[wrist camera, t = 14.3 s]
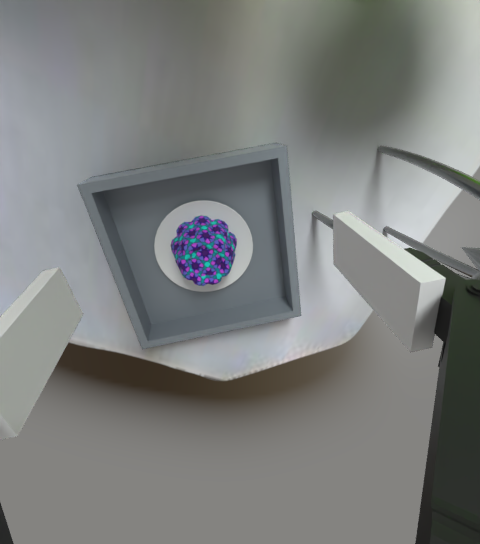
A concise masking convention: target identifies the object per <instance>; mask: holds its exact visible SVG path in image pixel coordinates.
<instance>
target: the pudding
mask: <svg viewBox="0 0 480 544" xmlns="http://www.w3.org/2000/svg"><path fill="white" fill-rule="evenodd" d="M154 249H155V256H156V259H157V262H158V264H159V266H160V268H161V270H162V271H163V272H164V274H165V275H166V276H167V277H168V278H169V279H170V280H171V281H173V282H174V283H176V284H177V285H179V286H181V287H183V288H185V289H189V290H192V291H199V292H210V291H215V290H219V289H222V288H225V287H227V286H228V285H230V284H232V283H233V282H235V281H236V280H237V279H238V278H239V277H240V276H241V275H242V274H243V273H244V272H245V270H246V269H247V267H248V265H249V263H250V260H251V257H252V253H253V241H252V235H251V232H250V229H249V227H248V225H247V224H246V222H245V221H244V219H243V218H242V217H241V216H240V215H239V214H238V213H237V212H236V211H234V210H233V209H231V208H230V207H228V206H226V205H224V204H221V203H218V202H214V201H193V202H189V203H186V204H183V205H181V206H179V207H177V208H176V209H174V210H173V211H172V212H170V213H169V214H168V215H167V216H166V217H165V218H164V220H163V221H162V222H161V224H160V226H159V228H158V230H157V233H156V236H155V243H154Z"/></svg>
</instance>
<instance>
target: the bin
mask: <svg viewBox="0 0 480 544" xmlns="http://www.w3.org/2000/svg"><path fill="white" fill-rule="evenodd" d="M77 186H78V188H79V191H80V193H81V196H82V198H83V201H84V203H85V206H86V208H87V211H88V213H89V216H90V219H91V221H92V224H93V226H94V229H95V231H96V234H97V236H98V239H99V241H100V244H101V246H102V249H103V251H104V254H105V256H106V259H107V261H108V264H109V267H110V269H111V272H112V274H113V277H114V279H115V282H116V284H117V287H118V289H119V292H120V294H121V297H122V299H123V302H124V304H125V307H126V309H127V312H128V314H129V317H130V320H131V322H132V325H133V327H134V330H135V332H136V335H137V337H138V340H139V342H140V345H141V347H142V349H146V348H150V347H155V346H160V345H165V344H170V343H174V342H179V341H184V340H189V339H193V338H198V337H203V336H208V335H213V334H217V333H222V332H227V331H232V330H236V329H241V328H246V327H251V326H256V325H260V324H265V323H270V322H275V321H279V320H284V319H289V318H294V317H299V316H301V307H300V296H299V284H298V272H297V260H296V248H295V236H294V225H293V213H292V201H291V189H290V177H289V165H288V153H287V146H286V145H282V144H279V143H272V144H267V145H262V146H256V147H251V148H246V149H240V150H235V151H229V152H224V153H219V154H213V155H208V156H202V157H197V158H192V159H186V160H181V161H176V162H170V163H165V164H159V165H154V166H149V167H143V168H138V169H133V170H127V171H122V172H116V173H111V174H106V175H100V176H95V177H91V178H89V179H87V180H85V181H83V182H82V183H80V184H78V185H77ZM193 201H214V202H218V203H221V204H224V205H226V206H228V207H230V208H231V209H233V210H234V211H236V212H237V213H238V214H239V215H240V216H241V217H242V218H243V219H244V221H245V222H246V224H247V225H248V227H249V229H250V232H251V235H252V241H253V253H252V257H251V260H250V263H249V265H248V267H247V269H246V270H245V272H244V273H243V274H242V275H241V276H240V277H239V278H238V279H237V280H236V281H235V282H233V283H232V284H230V285H228V286H227V287H225V288H222V289H219V290H215V291H210V292H199V291H192V290H189V289H185V288H183V287H181V286H179V285H177V284H176V283H174V282H173V281H171V280H170V279H169V278H168V277H167V276H166V275H165V274H164V272H163V271H162V270H161V268H160V266H159V264H158V262H157V259H156V256H155V249H154V243H155V236H156V233H157V230H158V228H159V226H160V224H161V222H162V221H163V220H164V218H165V217H166V216H167V215H168V214H169V213H170V212H172V211H173V210H174V209H176V208H177V207H179V206H181V205H183V204H186V203H189V202H193Z"/></svg>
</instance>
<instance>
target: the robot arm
mask: <svg viewBox="0 0 480 544" xmlns="http://www.w3.org/2000/svg"><path fill="white" fill-rule="evenodd" d="M333 258H334V265H335V266H336V268H337V269H338V270H339V271H340V272H341V273H342V274H343V276H344V277H345V278H346V279H347V280H348V281H349V282H350V284H351V285H352V286H353V287H354V288H355V289H356V291H357V292H358V293H359V294H360V295H361V296H362V297H363V299H364V300H365V301H366V302H367V303H368V304H369V306H370V307H371V308H372V309H373V310H374V311H375V312H376V313H377V315H378V316H379V317H380V318H381V319H382V320H383V322H384V323H385V324H386V325H387V326H388V327H389V329H390V330H391V331H392V332H393V333H394V334H395V335H396V337H397V338H398V339H399V340H400V341H401V342H402V344H403V345H404V346H405V347H406V348H407V349H408V350H409V352H415V351H420V350H424V349H429V348H432V346H433V340H434V336H435V334H436V335H437V336H438V337H439V338H440V339H441V340H442V341H443V346H442V351H441V356H440V360H439V365H438V366H439V375H438V381H437V390H436V396H435V403H434V411H433V418H432V426H431V433H430V440H429V448H428V455H427V462H426V469H425V477H424V485H423V492H422V499H421V506H420V514H419V521H418V528H417V536H416V543H415V544H480V280H478V279H470V280H465V279H464V278H462V277H461V276H459V275H458V274H456V273H454V272H453V271H451V270H450V269H448V268H447V267H445V266H444V265H441V264H440V263H439V262H437V261H436V260H433V258H431V257H430V256H428V255H427V254H425V253H424V252H421V251H418V250H415V249H412V248H406V249H403V248H401V247H400V246H399V245H397V244H396V243H394V242H393V241H391V240H390V239H388V238H387V237H385V236H384V235H383V234H381V233H380V232H378V231H377V230H375V229H374V228H372V227H371V226H370V225H368V224H367V223H365V222H364V221H362V220H361V219H359V218H358V217H357V216H355V215H354V214H352V213H351V212H349V211H346V212H341V213H336V214H333ZM82 316H83V313H82V311H81V309H80V307H79V305H78V303H77V301H76V299H75V297H74V295H73V293H72V291H71V289H70V287H69V285H68V283H67V281H66V279H65V277H64V275H63V273H62V271H61V269H60V267H59V268H54V269H48V270H43V271H42V272H41V273H40V275H39V276H38V277H37V278H36V279H35V280H34V281H33V282H32V283H31V284H30V285H29V286H28V288H27V289H26V290H25V291H24V292H23V293H22V294H21V295H20V296H19V297H18V298H17V299H16V300H15V302H14V303H13V304H12V305H11V306H10V307H9V308H8V309H7V310H6V311H5V312H4V313H3V315H2V316H1V317H0V440H1V439H6V438H11V437H16V436H18V435H19V433H20V431H21V429H22V427H23V425H24V424H25V422H26V420H27V418H28V416H29V414H30V413H31V411H32V409H33V407H34V405H35V403H36V401H37V399H38V398H39V396H40V394H41V392H42V390H43V388H44V387H45V385H46V383H47V381H48V379H49V377H50V375H51V374H52V372H53V370H54V368H55V366H56V364H57V362H58V361H59V359H60V357H61V355H62V353H63V351H64V349H65V347H66V346H67V344H68V342H69V340H70V338H71V336H72V335H73V333H74V331H75V329H76V327H77V325H78V323H79V322H80V320H81V318H82ZM0 544H13V541H12V538H11V534H10V531H9V528H8V525H7V522H6V519H5V516H4V513H3V510H2V506H1V503H0Z"/></svg>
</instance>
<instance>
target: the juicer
mask: <svg viewBox="0 0 480 544" xmlns="http://www.w3.org/2000/svg"><path fill="white" fill-rule="evenodd" d="M378 151H379V152H381V153H384V154H387V155H390V156H393V157H396V158H399V159H401V160H404V161H406V162H409V163H411V164H414V165H416V166H418V167H420V168H423V169H425V170H427V171H429V172H431V173H433V174H435V175H437V176H439V177H441V178H443V179H445V180H447V181H449V182H450V183H452V184H454V185H456V186H457V187H459V188H461V189H463V190H464V191H466V192H467V193H469V194H471V195H472V196H474V197H475V198H477V199H479V200H480V181H479V180H477V179H475V178H473V177H471V176H469V175H467V174H465V173H463V172H461V171H459V170H456V169H454V168H452V167H450V166H447V165H445V164H442V163H440V162H437V161H435V160H432V159H429V158H426V157H424V156H421V155H418V154H414V153H411V152H408V151H404V150H400V149H396V148H392V147H387V146H380V147H379V148H378ZM313 216H315V217H316V218H317V219H319V220H320V221H321V222H323V223H324V224H326V225H327V226H328V227H330V228H331V229H333V220H332V219H330V218H328V217H327V216H325V215H323V214H321V213H320V212H318V211H314V212H313ZM384 231H385V232H387V233H389V234H390V235H392V236H394V237H395V238H397V239H399V240H400V241H402V242H404V243H406V244H407V245H409V246H411V247H413V248H414V249H416V250H418V251H421V252H424V253H425V254H427V255H428V256H430V257H431V258H433V259H435V260H437V261H439V262H441V263H443V264H445V265H447V266H449V267H451V268H453V269H455V270H457V271H460V272H461V273H464V274H466V275H468V276H470V277H472V278H468V277H465V276H462V275H459V274H458V275H459V276H461V277H462V278H464V279H465V280H470V279H478V280H480V248H466V247H463V248H462V249H463V250H464V252H465V253H466V255H467V256H468V257H469V259H470V260H471V261H472V263H473V264H474V265H475V266H476V268H477V269H475V268H473V267H471V266H469V265H466V264H464V263H462V262H460V261H458V260H456V259H454V258H452V257H450V256H447V255H445V254H443V253H441V252H439V251H437V250H435V249H433V248H431V247H429V246H427V245H424V244H423V243H420V242H418V241H416V240H414V239H412V238H410V237H408V236H406V235H404V234H402V233H400V232H398V231H396V230H394V229H392V228H390V227H388V226H386V227H384Z"/></svg>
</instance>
